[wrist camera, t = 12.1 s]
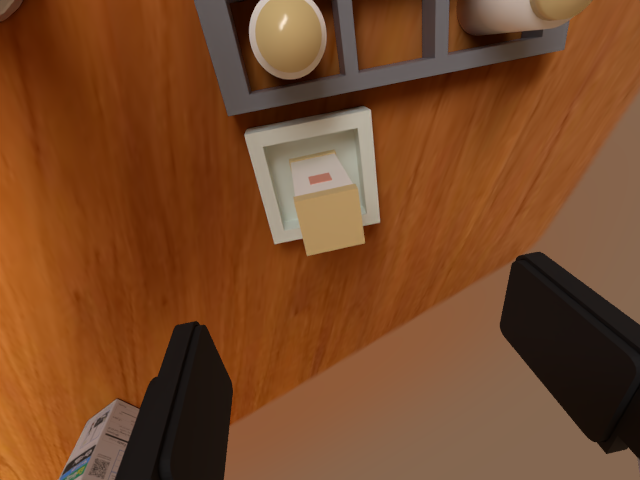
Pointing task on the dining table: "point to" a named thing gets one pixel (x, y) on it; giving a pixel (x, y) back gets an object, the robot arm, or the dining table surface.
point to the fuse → (326, 203)
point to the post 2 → (515, 15)
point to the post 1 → (287, 36)
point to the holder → (433, 62)
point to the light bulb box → (101, 444)
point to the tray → (304, 139)
